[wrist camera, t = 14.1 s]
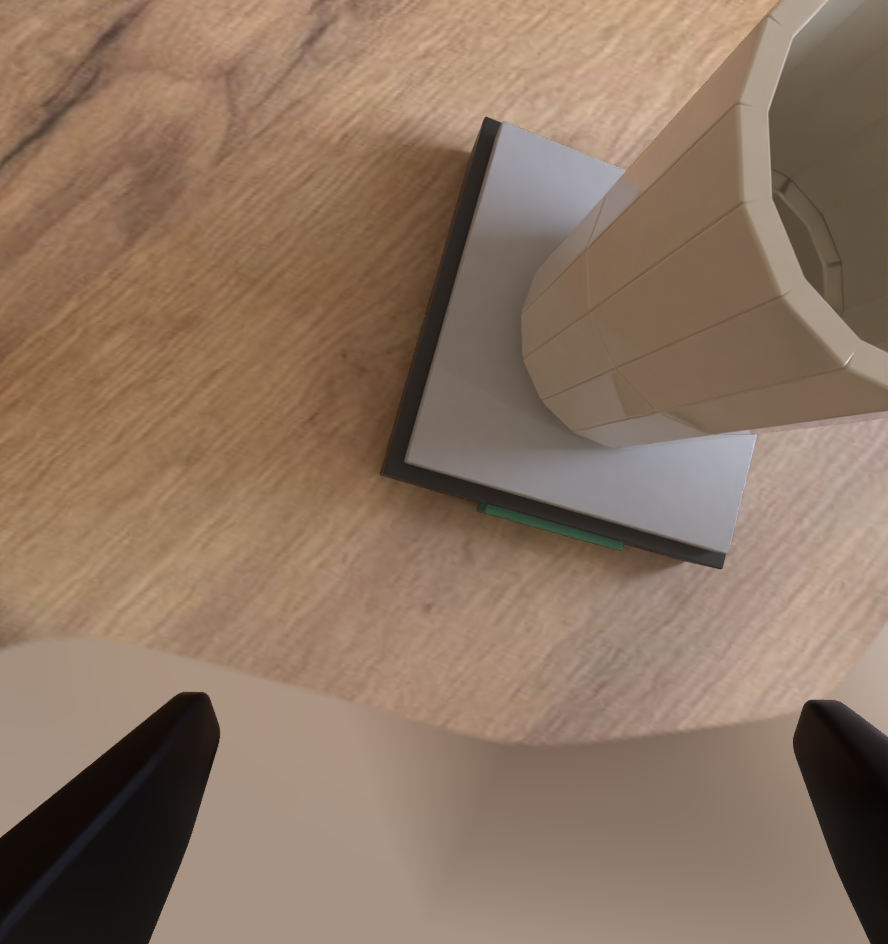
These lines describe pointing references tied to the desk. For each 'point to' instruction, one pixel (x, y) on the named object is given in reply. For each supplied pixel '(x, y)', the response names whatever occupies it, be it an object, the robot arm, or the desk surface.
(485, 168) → the scale
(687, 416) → the beige cylindrical cup
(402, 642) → the desk surface
